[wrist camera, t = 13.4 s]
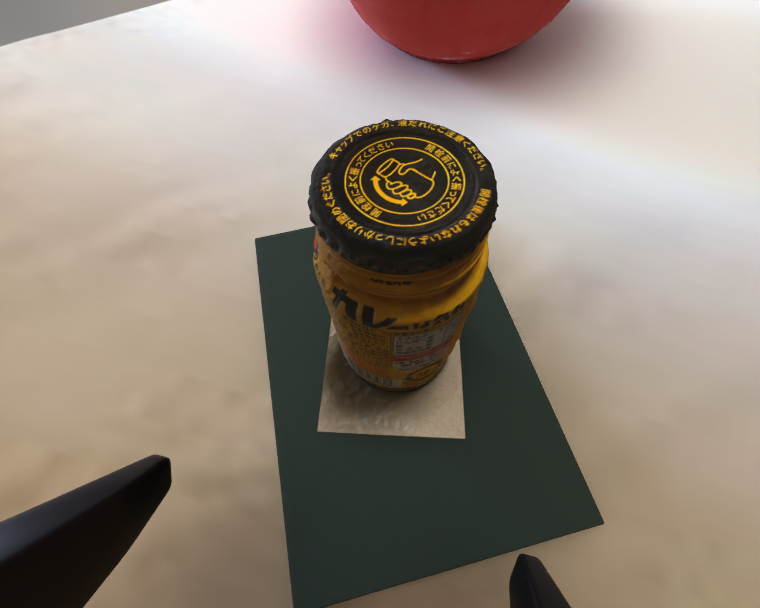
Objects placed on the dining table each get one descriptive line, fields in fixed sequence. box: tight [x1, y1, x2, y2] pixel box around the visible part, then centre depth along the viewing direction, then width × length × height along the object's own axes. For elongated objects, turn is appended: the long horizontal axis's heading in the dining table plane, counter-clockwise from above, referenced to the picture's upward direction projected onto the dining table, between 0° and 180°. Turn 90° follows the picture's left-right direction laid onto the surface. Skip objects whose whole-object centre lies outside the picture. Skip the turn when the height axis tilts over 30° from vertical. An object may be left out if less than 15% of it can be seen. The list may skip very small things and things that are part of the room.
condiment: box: [308, 119, 498, 439], centre depth 15 cm, size 7×8×12 cm
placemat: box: [255, 226, 604, 608], centre depth 20 cm, size 20×14×1 cm
